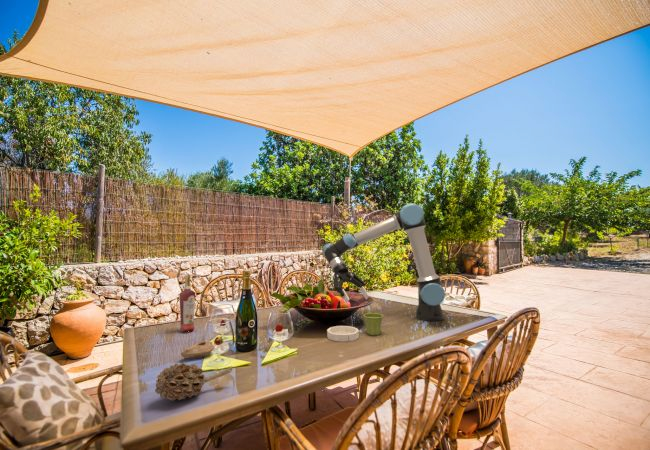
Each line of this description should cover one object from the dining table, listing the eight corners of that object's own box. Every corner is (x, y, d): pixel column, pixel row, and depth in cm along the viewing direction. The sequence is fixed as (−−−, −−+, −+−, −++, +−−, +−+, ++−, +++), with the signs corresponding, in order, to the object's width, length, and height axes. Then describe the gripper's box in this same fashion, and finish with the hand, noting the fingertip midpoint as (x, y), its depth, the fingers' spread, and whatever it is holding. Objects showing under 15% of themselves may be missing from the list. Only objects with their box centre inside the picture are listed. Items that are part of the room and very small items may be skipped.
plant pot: (382, 331, 155) (382, 313, 155) (384, 336, 145) (384, 317, 146) (363, 330, 156) (363, 312, 156) (364, 336, 146) (363, 317, 147)
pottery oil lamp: (175, 358, 120) (179, 339, 124) (205, 361, 127) (208, 343, 131) (185, 355, 115) (189, 335, 119) (215, 359, 122) (218, 340, 126)
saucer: (363, 334, 149) (363, 328, 149) (350, 343, 136) (350, 336, 136) (335, 330, 156) (335, 324, 156) (321, 338, 143) (321, 332, 143)
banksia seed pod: (158, 414, 82) (158, 376, 83) (151, 400, 90) (151, 364, 90) (238, 389, 96) (238, 355, 97) (226, 378, 104) (226, 347, 104)
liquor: (185, 334, 152) (185, 276, 153) (175, 332, 156) (176, 275, 157) (198, 330, 158) (198, 274, 160) (189, 328, 162) (189, 273, 164)
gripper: (353, 270, 182) (372, 300, 169) (317, 273, 167) (335, 307, 154) (359, 261, 178) (379, 292, 165) (323, 264, 163) (342, 297, 150)
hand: (358, 299), depth 160 cm, fingers open, 13 cm apart
